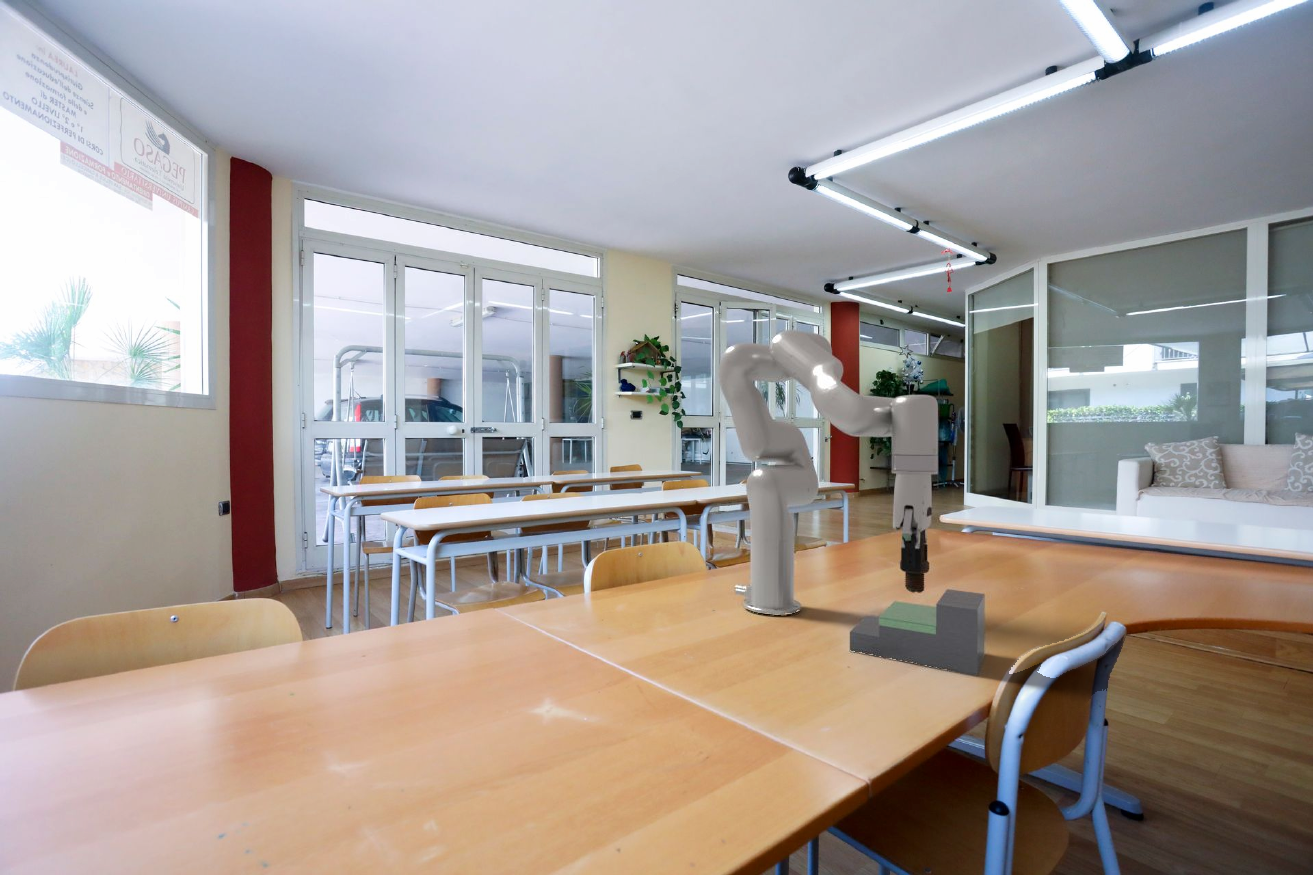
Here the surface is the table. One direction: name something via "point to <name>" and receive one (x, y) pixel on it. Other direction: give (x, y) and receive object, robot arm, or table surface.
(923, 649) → the stepped stand
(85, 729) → the table surface
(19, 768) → the table surface
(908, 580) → the bolt
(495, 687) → the table surface
